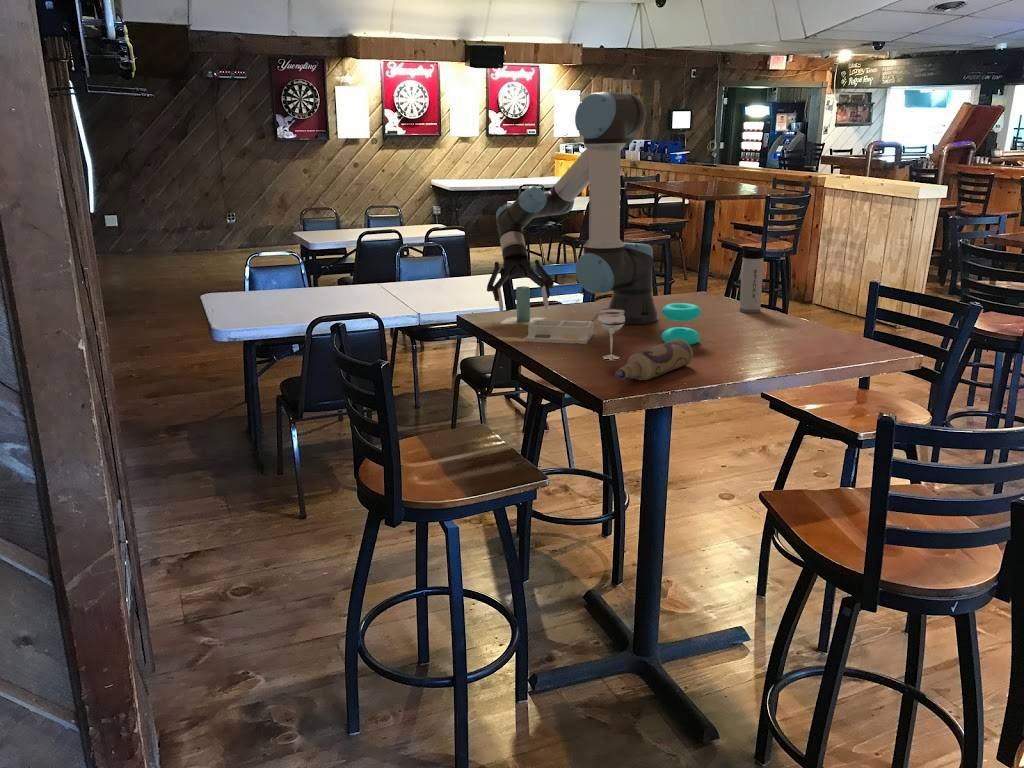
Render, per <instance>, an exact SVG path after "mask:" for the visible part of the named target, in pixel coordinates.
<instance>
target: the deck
mask: <svg viewBox="0 0 1024 768" xmlns="http://www.w3.org/2000/svg"><path fill="white" fill-rule="evenodd" d="M534 320H547V317H538V316H537V317H534V316H533V317H531V316H530V321H529V322H518V321H517V316H507V317H506V318H505V319H504V320H502V321H501V322H500V323H499V324H500V325H516V326H517V325H522V326H525V325H526V326H529V325H530V324H531V323H532V322H533V321H534Z"/></svg>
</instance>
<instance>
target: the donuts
mask: <svg viewBox="0 0 1024 768" xmlns="http://www.w3.org/2000/svg"><path fill="white" fill-rule="evenodd" d="M701 311H702V310H701V308H700V307H699V306H698V305H696V304H693V303H685V302H673V303H668V304H666V305H664V306H663V308H662V315H663V317H664V318H666V319H668V320H670V321H676V322H688V321H689V322H690V321H694V320H696V319H697V318H698V317H700V315H701V313H702V312H701ZM674 339H681V340H684V341H686V342H687V343H688V344H689V345H690V346H692V345H695V344H697V343H698V342H699V341H700V334H699V333H698V331H697V330H696V329H693V328H690V327H683V326H681V327H680V326H677V327H670V328H667V329H665V330H664V331H663V332H662V333H661V340H662V341H663V343H666V342H669V341H671V340H674Z"/></svg>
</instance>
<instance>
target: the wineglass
mask: <svg viewBox="0 0 1024 768" xmlns="http://www.w3.org/2000/svg"><path fill="white" fill-rule="evenodd" d="M624 313H625V310H622V309H615V308H609V309H608V308H601V309H599V310H598V314H599V315H598V318H597V321H598V325H599V326H600V328H602V329H603V330H604V331H606V332H607V333H608V334H609V346H610V347H609V348H610V350H609V351H610V352H609V353H610V354H607V355H606V354H605V355H603V356H602V357H603V358H604V359H609V360H608V361H614V360H613V359H619V358H620V357H621V356H619V355H616V354H613V342H614V341H613V340H614V334H615V333H616V332H617V331H620V330H621V329H622V328H623V326H624V325H625V324H624V323H625V316H624ZM604 359H603V360H604ZM619 360H620V359H619Z"/></svg>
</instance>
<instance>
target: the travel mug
mask: <svg viewBox="0 0 1024 768" xmlns="http://www.w3.org/2000/svg"><path fill="white" fill-rule="evenodd" d="M741 249H742V262H741V274H740V275H741V277H740V293H739V312H741V313H744V314H756V313H757V314H758V313H760V312H761V305H762V292H763V291H762V289H763V288H762V287H763V274H764V273H763V272H764V261H765V260H764V258H765V257H764V256H765V249H763V248H761V247H758V246H757V247H756V246H747V245H743V246H741Z"/></svg>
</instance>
